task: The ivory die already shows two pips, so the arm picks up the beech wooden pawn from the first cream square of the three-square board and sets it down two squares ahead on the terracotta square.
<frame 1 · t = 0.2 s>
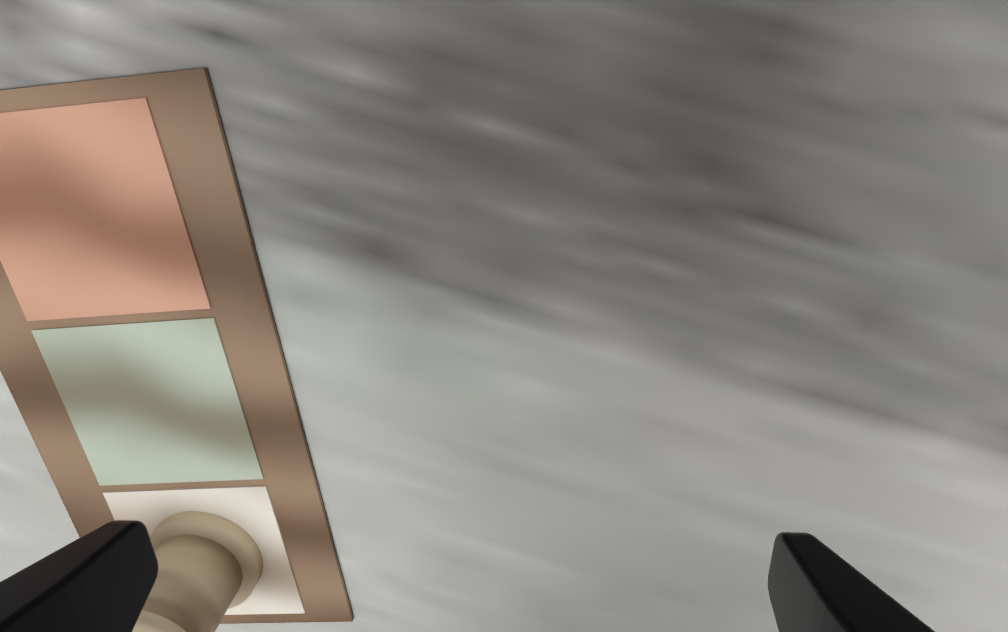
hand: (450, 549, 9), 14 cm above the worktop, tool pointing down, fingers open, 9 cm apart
board: (156, 404, 26), on the worktop
pawn: (207, 555, 28), resting on board
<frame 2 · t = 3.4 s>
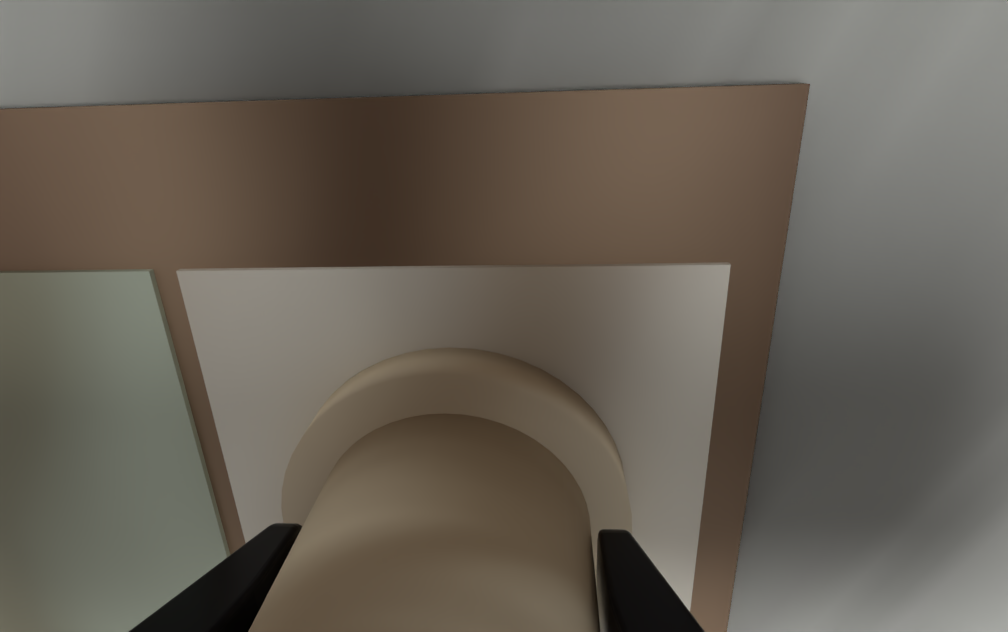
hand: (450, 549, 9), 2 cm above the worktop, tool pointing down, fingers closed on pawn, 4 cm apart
board: (6, 475, 11), on the worktop
pawn: (461, 493, 10), resting on board, touching gripper
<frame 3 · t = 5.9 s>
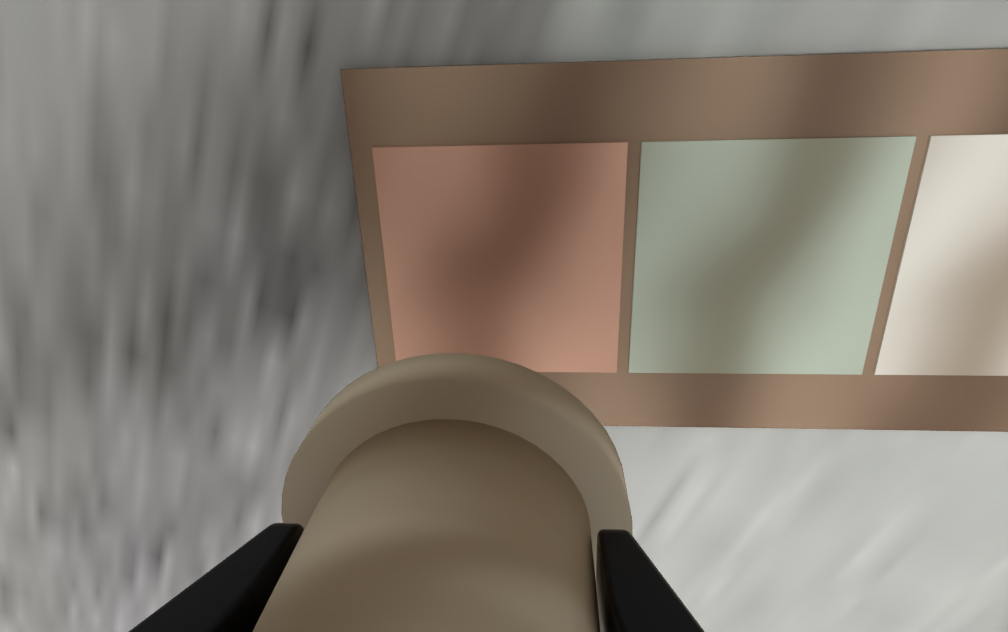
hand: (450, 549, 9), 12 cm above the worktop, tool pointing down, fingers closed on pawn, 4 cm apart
board: (755, 262, 19), on the worktop
pawn: (461, 498, 10), point 11 cm above the worktop, touching gripper
when the fingers open (3 cm above the worktop, at t = 8.3 s): pawn drops 2 cm, resting on board.
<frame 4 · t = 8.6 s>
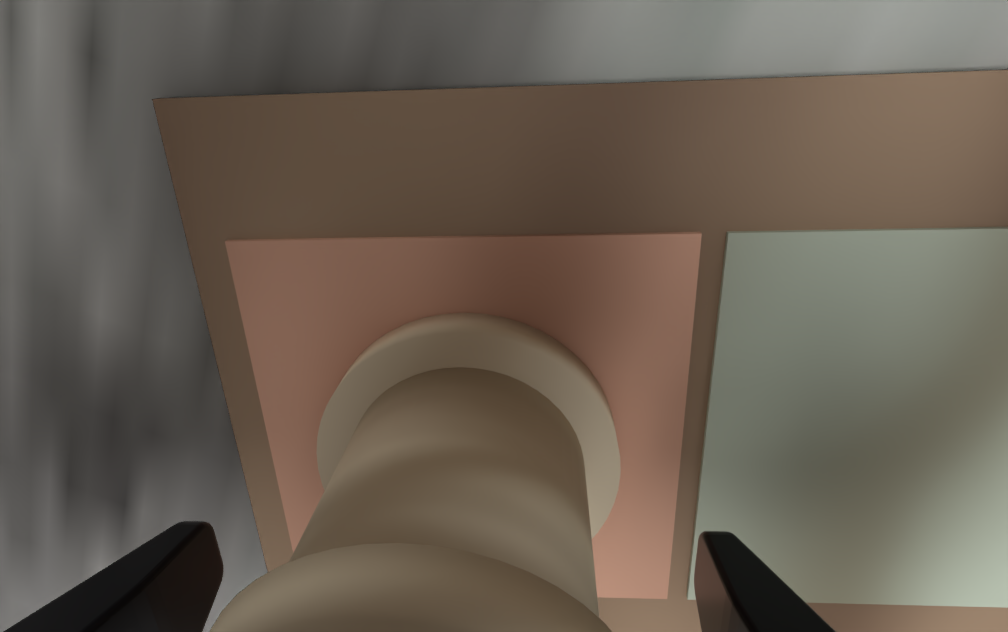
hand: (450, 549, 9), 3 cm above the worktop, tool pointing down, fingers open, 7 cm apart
board: (919, 433, 11), on the worktop
pawn: (471, 443, 11), resting on board
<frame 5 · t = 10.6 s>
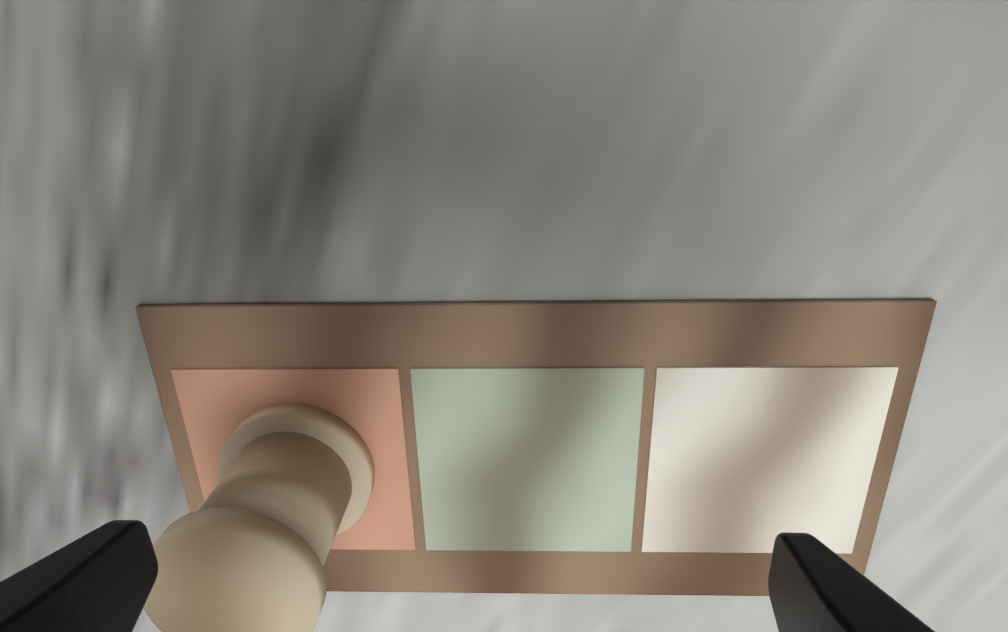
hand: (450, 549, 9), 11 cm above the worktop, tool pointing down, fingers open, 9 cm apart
board: (527, 460, 22), on the worktop
pawn: (301, 467, 22), resting on board
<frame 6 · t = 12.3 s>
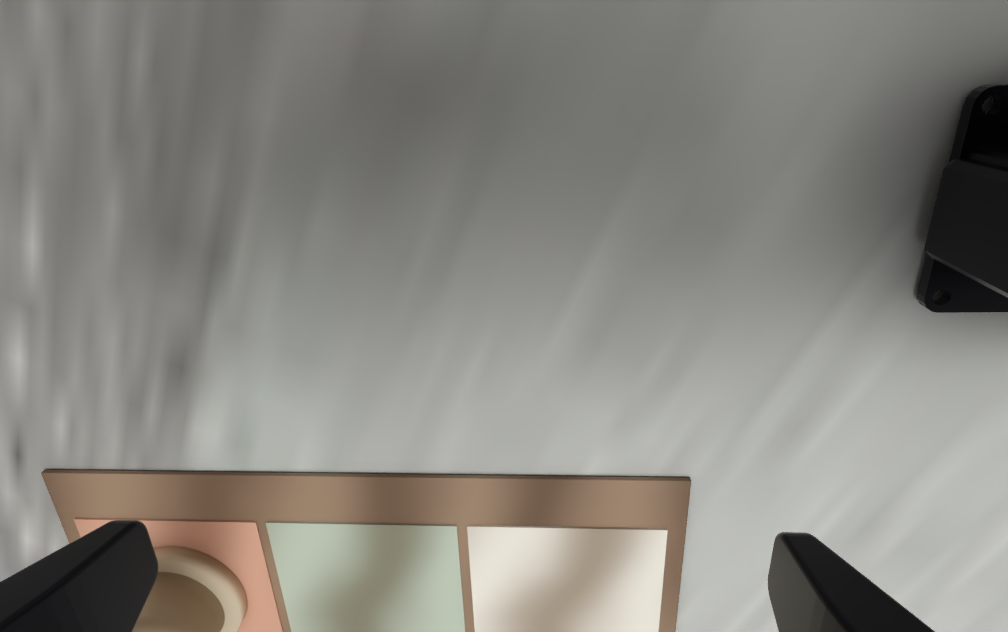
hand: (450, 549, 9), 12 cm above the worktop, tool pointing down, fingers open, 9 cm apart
board: (373, 590, 26), on the worktop
pawn: (187, 593, 26), resting on board
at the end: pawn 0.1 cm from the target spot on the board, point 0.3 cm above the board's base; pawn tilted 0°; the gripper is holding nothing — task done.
